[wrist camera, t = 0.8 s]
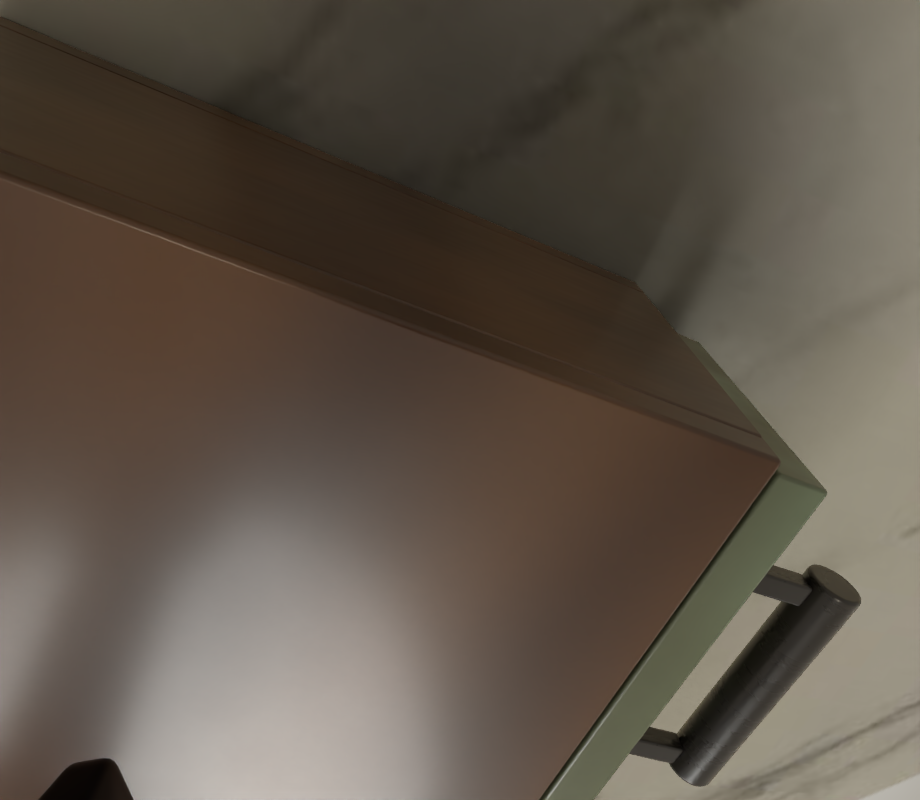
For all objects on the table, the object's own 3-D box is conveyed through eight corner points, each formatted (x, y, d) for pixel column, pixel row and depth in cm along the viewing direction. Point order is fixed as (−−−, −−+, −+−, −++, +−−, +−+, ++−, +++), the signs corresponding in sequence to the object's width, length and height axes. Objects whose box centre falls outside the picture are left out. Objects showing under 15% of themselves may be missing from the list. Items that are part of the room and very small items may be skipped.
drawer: (847, 401, 22) (1020, 561, 16) (613, 719, 27) (679, 927, 22) (132, 111, 17) (1, 191, 11) (17, 575, 22) (-113, 797, 16)
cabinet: (636, 282, 21) (785, 461, 13) (420, 666, 27) (439, 941, 19) (-2, 15, 17) (-315, 56, 9) (-91, 541, 22) (-325, 831, 15)
